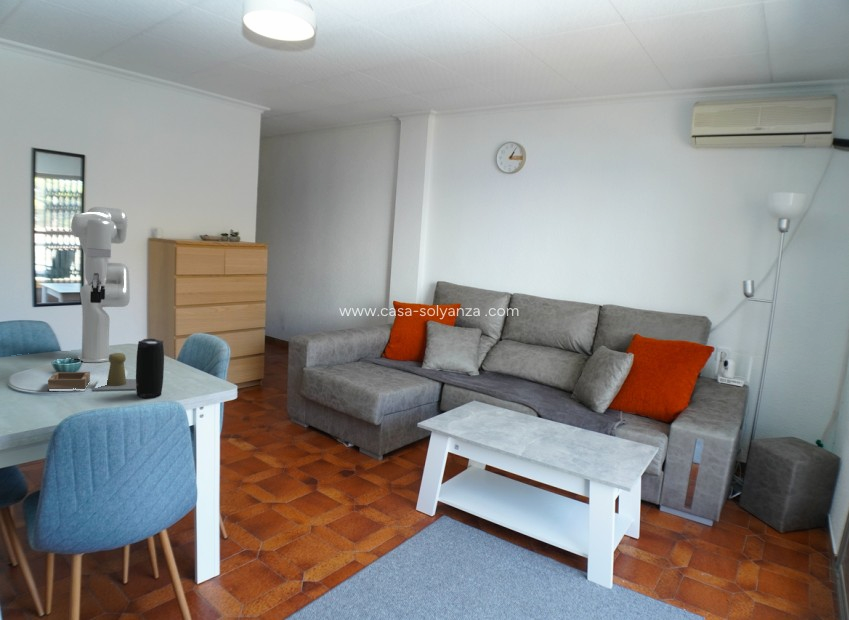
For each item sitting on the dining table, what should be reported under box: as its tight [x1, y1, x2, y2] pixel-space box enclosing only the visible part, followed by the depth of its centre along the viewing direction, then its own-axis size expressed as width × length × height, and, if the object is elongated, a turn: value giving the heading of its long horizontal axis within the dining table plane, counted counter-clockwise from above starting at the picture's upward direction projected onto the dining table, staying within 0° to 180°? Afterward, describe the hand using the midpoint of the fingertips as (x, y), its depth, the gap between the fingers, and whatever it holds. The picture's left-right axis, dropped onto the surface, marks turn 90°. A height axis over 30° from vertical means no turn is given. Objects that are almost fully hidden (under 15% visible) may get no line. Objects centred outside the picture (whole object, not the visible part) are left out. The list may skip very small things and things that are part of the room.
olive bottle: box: [107, 352, 127, 386], centre depth 191 cm, size 6×6×11 cm
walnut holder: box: [47, 371, 91, 390], centre depth 185 cm, size 10×10×4 cm
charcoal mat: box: [92, 378, 136, 392], centre depth 192 cm, size 13×13×1 cm
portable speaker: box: [135, 338, 165, 399], centre depth 183 cm, size 8×9×19 cm
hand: (97, 300), depth 197 cm, fingers open, 9 cm apart
